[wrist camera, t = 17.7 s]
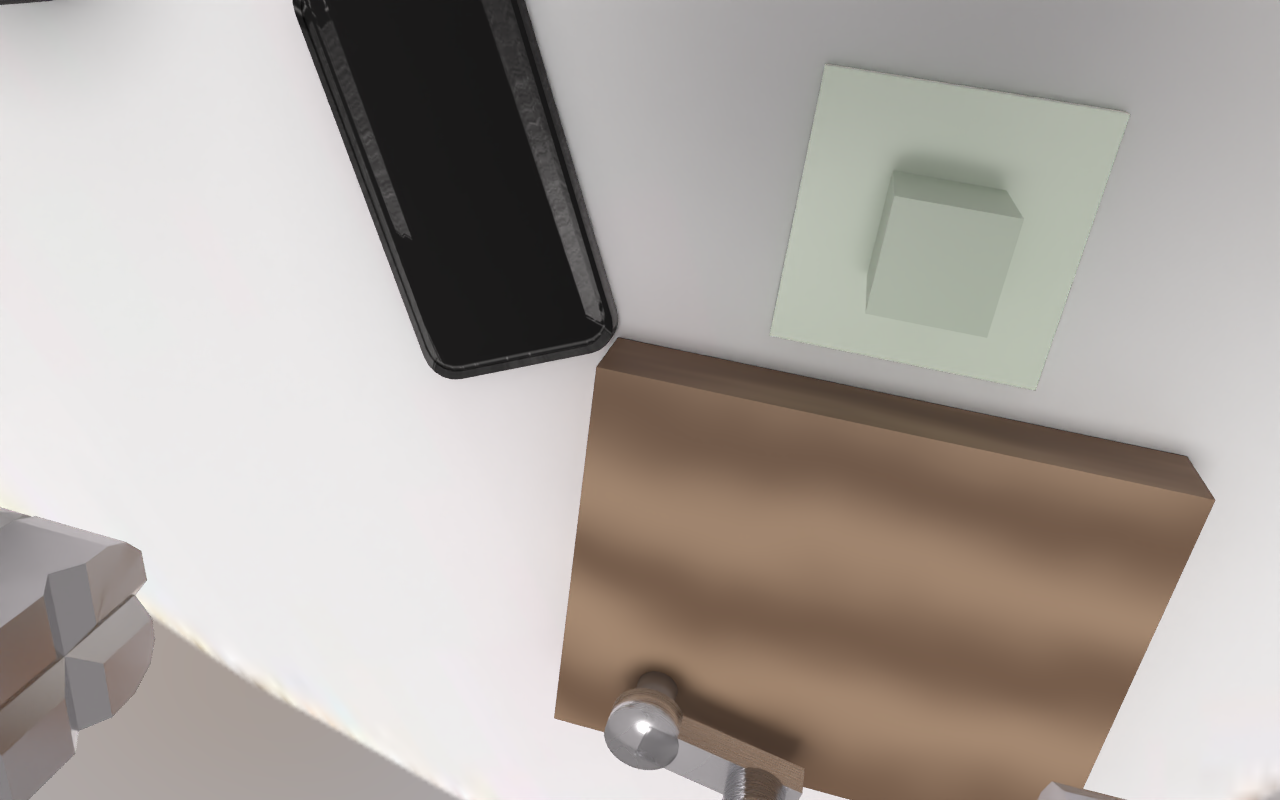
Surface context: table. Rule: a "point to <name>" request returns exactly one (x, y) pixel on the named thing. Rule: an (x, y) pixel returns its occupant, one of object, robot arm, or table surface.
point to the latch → (695, 750)
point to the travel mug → (19, 1)
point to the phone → (465, 177)
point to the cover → (942, 222)
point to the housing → (866, 576)
